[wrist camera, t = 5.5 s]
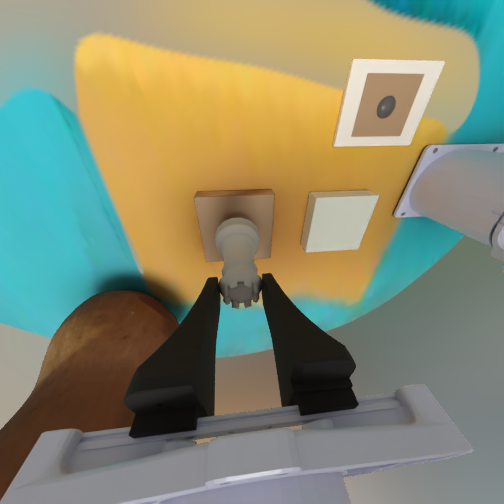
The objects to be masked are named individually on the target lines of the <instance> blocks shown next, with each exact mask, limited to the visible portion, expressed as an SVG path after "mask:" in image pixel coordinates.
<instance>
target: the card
mask: <svg viewBox="0 0 504 504" xmlns="http://www.w3.org/2000/svg"><path fill="white" fill-rule="evenodd" d="M444 64H445V61H422V60H378V59H352V60H351V62H350V66H349V71H348V75H347V81H346V85H345V89H344V94H343V99H342V103H341V108H340V112H339V117H338V122H337V126H336V131H335V136H334V140H333V145H332V146H334V147H339V146H398V145H410V143H411V141H412V138H413V136H414V134H415V131H416V129H417V127H418V124H419V122H420V120H421V117H422V115H423V113H424V110H425V108H426V105H427V103H428V101H429V99H430V96H431V94H432V92H433V89H434V87H435V85H436V82H437V80H438V77H439V75H440V73H441V71H442V68H443V66H444Z"/></svg>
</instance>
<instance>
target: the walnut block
mask: <svg viewBox="0 0 504 504" xmlns="http://www.w3.org/2000/svg"><path fill="white" fill-rule="evenodd" d="M274 196H275V195H274V193H273V191H272V190H271V189H258V190H229V191H200V192H197V193H196V195H195V197H194V201H195V206H196V211H197V216H198V221H199V226H200V232H201V237H202V242H203V247H204V252H205V258H206V262H215V261H224V258H223V256H222V255H221V254H220V253H219V251H218V250H217V247H216V241H215V239H216V238H215V234H216V231H217V228H218V227H219V226H220V225H221V224H222V223H223V222H224V221H226V220H228V219H231V218H244V219H247V220H250V221H251V222H252V223H253V224H255V225H256V227H257V229H258V231H259V237H260V242H259V248H258V250H257V251H256V253H255V255H254V259H261V258H270V256H271V241H272V226H273V211H274Z"/></svg>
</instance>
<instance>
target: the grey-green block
mask: <svg viewBox="0 0 504 504" xmlns="http://www.w3.org/2000/svg"><path fill="white" fill-rule="evenodd" d="M378 197H379V195H377V194H375V193H373V192H371V191H369V190H355V191H327V192H310V193H309V199H308V204H307V210H306V216H305V221H304V227H303V233H302V238H301V246H302V247H303V249H304V251H305V252H321V251H337V250H352V249H358V247H359V245H360V242H361V240H362V237H363V235H364V232H365V230H366V227H367V225H368V222H369V220H370V217H371V215H372V212H373V210H374V207H375V205H376V202H377V200H378Z"/></svg>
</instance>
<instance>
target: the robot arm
mask: <svg viewBox="0 0 504 504" xmlns="http://www.w3.org/2000/svg"><path fill="white" fill-rule="evenodd" d="M433 150H434V151H433ZM393 215H394V217H396V218H403V217H422V216H425V217H427V218H430V219H432V220H434V221H436V222H438V223H440V224H443V225H445V226H447V227H449V228H451V229H453V230H456V231H458V232H460V233H462V234H464V235H467V236H469V237H471V238H473V239H475V240H477V241H479V242H482V243H484V244H486V245H488V246H490V247H493V250H492V252H491V253H490V256H492V257H494V258H496V259H498V260H500V261H502V262H504V144H449V145H428V146H427V147H426V148H425V149H424V151H423V153H422V155H421V157H420V159H419V161H418V163H417V165H416V168H415V170H414V172H413V174H412V176H411V178H410V180H409V182H408V184H407V187H406V189H405V191H404V193H403V195H402V197H401V199H400V201H399V203H398V206H397V208H396V210H395V212H394V214H393ZM501 270H502V273H503V274H504V263H503V264H502V267H501ZM262 281H263V288H262V299H263V306H264V310H265V314H266V317H267V321H268V325H269V329H270V333H271V337H272V343H273V349H274V355H275V361H276V368H277V375H278V382H279V389H280V396H281V404H282V407H279V408H271V409H264V410H256V411H248V412H240V413H233V414H225V415H218V416H214V399H215V397H214V396H215V355H216V338H217V331H218V323H219V315H220V292H219V289H218V278H217V277H211V278H208V279H207V281H206V284H205V286H204V288H203V290H202V292H201V294H200V295H199V297H198V299H197V301H196V302H195V304H194V305H193V307H192V308H191V310H190V311H189V313H188V314H187V316H186V317H185V318H184V320H183V321H182V322H181V324H180V325H179V326H178V327H177V329H176V330H175V331H174V332H173V333H172V334H171V336H170V337H169V338H168V339H167V340H166V341H165V342H164V343H163V344H162V345H161V346H160V347H159V348H158V349H157V350H156V351H155V352H154V353H153V354H152V355H151V356H150V357H149V358H148V359H146V360H145V361H144V362H143V363H142V364H141V365H140V366H139V367H138V368H137V369H136V371H135V373H134V375H133V377H132V379H131V381H130V384H129V386H128V389H127V391H126V394H125V396H124V399H123V403H124V404H125V406H126V407H127V408H129V409H130V410H131V411H132V412H134V413H135V417H134V420H133V423H132V426H131V427H125V428H117V429H110V430H102V431H94V432H87V433H83V432H82V431H80V430H78V429H62V430H54V431H46V432H44V433H42V434H41V436H40V437H39V439H38V441H37V442H36V444H35V446H34V447H33V449H32V450H31V452H30V454H29V455H28V457H27V459H26V460H25V462H24V463H23V465H22V467H21V468H20V470H19V472H18V473H17V475H16V476H15V478H14V480H13V481H12V483H11V485H10V486H9V488H8V490H7V491H6V493H5V494H4V496H3V498H2V499H1V501H0V504H351V501H350V498H349V495H348V492H347V489H346V486H345V483H344V480H343V478H344V477H349V476H355V475H359V474H365V473H371V472H377V471H381V470H387V469H393V468H399V467H404V466H410V465H415V464H421V463H427V462H433V461H439V460H443V459H447V458H450V457H455V456H459V455H463V454H466V453H470V452H473V448H472V447H471V445H470V444H469V443H468V442H467V440H466V439H465V437H464V436H463V435H462V433H461V432H460V431H459V429H458V428H457V427H456V425H455V424H454V423H453V422H452V420H451V419H450V418H449V416H448V415H447V414H446V412H445V411H444V410H443V408H442V407H441V406H440V404H439V403H438V402H437V400H436V399H435V398H434V396H433V395H432V394H431V393H430V391H429V390H428V388H427V387H426V386H425V385H424V384H415V385H408V386H402V387H400V388H398V389H397V390H396V391H395V392H394V393H387V394H379V395H371V396H364V397H355V395H354V393H353V390H352V389H351V387H352V383H351V380H350V379H349V377H350V376H351V374H352V373H353V372H354V370H355V368H356V364H355V362H354V360H353V358H352V356H351V355H350V353H349V352H348V350H347V349H346V347H345V346H344V345H343V344H341V343H340V342H338V341H337V340H335V339H334V338H332V337H331V336H329V335H328V334H327V333H325V332H324V331H323V330H321V329H320V328H319V327H318V326H316V325H315V324H314V323H313V322H312V321H310V320H309V319H308V318H307V317H306V316H305V315H304V314H303V313H302V312H301V311H300V310H299V309H298V308H297V307H296V306H295V305H294V304H293V303H292V302H291V300H290V299H289V298H288V297H287V296H286V294H285V293H284V292H283V290H282V289H281V288H280V286H279V285H278V283H277V282H276V280H275V279H274V277H273V275H272V274H271V273H267V274H262ZM298 425H302V430H291V429H288V428H283V427H290V426H298ZM276 428H278V429H276ZM254 431H255V432H254ZM247 432H248V433H247ZM218 436H222V437H218ZM210 437H217V438H215V439H213V440H211V441H210V442H206V443H201V444H197V442H196V441H193V440H197V439H204V438H210ZM196 444H197V445H196Z"/></svg>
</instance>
